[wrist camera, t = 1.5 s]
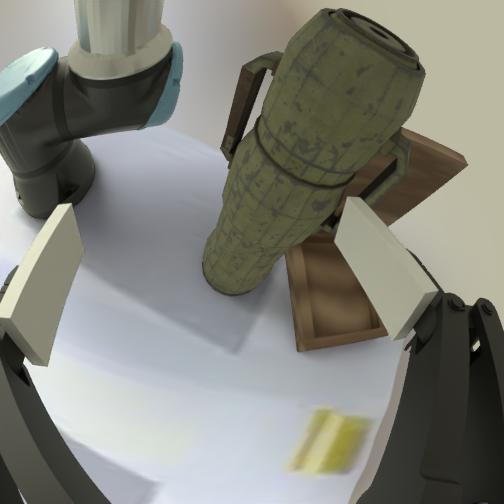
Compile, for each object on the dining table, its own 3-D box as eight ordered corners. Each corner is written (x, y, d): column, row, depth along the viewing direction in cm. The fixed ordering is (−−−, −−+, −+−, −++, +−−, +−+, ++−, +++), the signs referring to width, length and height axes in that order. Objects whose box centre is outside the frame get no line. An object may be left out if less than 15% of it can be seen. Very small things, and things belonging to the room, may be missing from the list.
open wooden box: (282, 236, 45) (379, 118, 21) (357, 238, 49) (463, 155, 25) (297, 351, 38) (448, 322, 15) (376, 337, 42) (513, 298, 19)
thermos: (211, 222, 42) (299, -20, 11) (279, 262, 43) (457, 78, 11) (180, 270, 38) (228, -14, 7) (253, 313, 39) (485, 144, 7)
